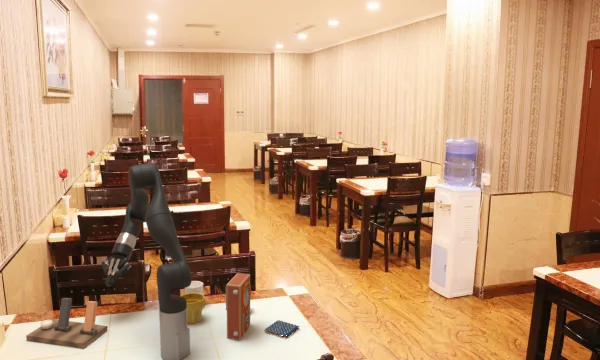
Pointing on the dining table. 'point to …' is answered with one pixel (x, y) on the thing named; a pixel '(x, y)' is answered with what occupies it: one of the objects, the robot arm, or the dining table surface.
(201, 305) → the plant pot
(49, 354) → the dining table surface
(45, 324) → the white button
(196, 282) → the white cup
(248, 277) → the control panel
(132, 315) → the dining table surface
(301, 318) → the dining table surface
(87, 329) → the orange block
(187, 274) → the robot arm
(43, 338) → the switch board
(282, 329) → the woven mat
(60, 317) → the long grey beam
